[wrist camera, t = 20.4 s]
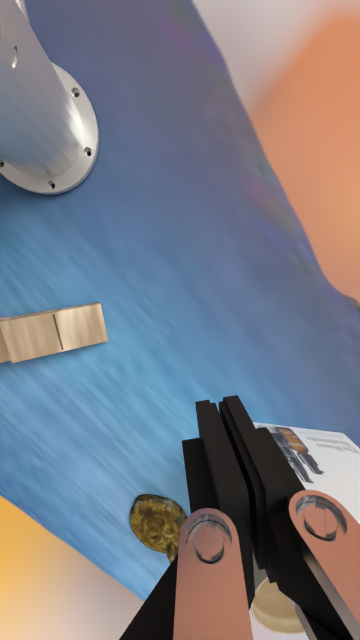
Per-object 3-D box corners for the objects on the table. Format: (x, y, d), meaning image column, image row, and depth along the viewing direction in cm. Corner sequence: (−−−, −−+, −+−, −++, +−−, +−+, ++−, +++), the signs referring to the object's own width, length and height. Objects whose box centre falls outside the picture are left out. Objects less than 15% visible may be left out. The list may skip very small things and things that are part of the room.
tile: (62, 344, 34) (-35, 366, 31) (53, 309, 33) (-49, 327, 29) (62, 348, 33) (-41, 372, 29) (52, 311, 31) (-57, 331, 28)
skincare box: (344, 429, 42) (450, 530, 27) (333, 456, 43) (429, 566, 28) (223, 414, 39) (264, 517, 24) (215, 443, 41) (249, 559, 25)
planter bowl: (236, 485, 43) (261, 560, 33) (324, 484, 45) (375, 555, 34) (225, 554, 47) (244, 640, 37) (306, 551, 49) (346, 632, 38)
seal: (115, 501, 44) (163, 551, 47) (107, 531, 39) (160, 584, 43) (160, 480, 42) (206, 534, 46) (157, 509, 38) (208, 566, 41)
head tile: (106, 337, 35) (15, 357, 31) (99, 301, 33) (3, 318, 30) (108, 340, 33) (12, 363, 29) (100, 303, 32) (-2, 322, 28)
